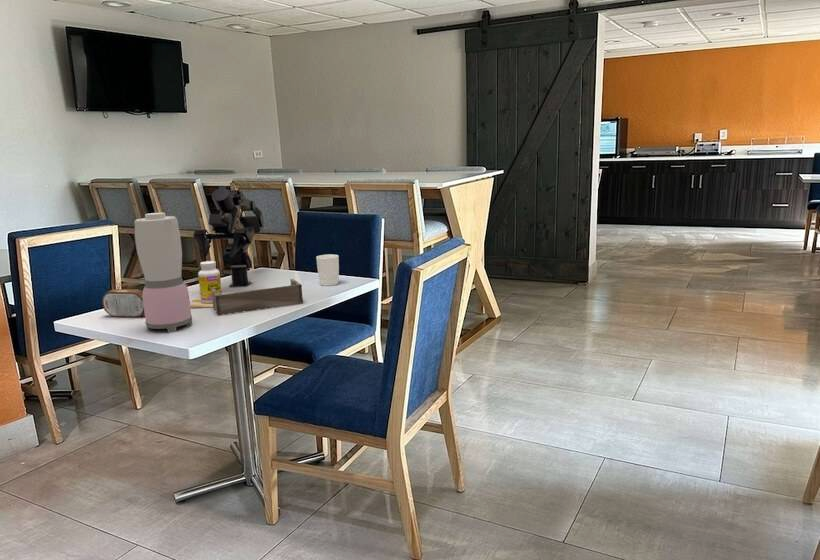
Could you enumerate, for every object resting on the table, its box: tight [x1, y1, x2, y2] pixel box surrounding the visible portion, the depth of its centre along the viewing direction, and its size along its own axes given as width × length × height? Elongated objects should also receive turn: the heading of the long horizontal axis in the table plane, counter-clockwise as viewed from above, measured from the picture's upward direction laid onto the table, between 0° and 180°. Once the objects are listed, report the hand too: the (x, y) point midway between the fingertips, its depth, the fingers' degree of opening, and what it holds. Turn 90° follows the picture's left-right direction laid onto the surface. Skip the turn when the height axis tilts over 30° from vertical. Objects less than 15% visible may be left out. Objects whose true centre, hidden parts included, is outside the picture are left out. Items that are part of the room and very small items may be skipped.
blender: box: [133, 212, 193, 333], centre depth 173 cm, size 16×12×32 cm
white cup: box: [315, 253, 340, 287], centre depth 221 cm, size 8×8×10 cm
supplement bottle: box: [197, 260, 223, 303], centre depth 200 cm, size 7×7×13 cm
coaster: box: [190, 296, 213, 309], centre depth 201 cm, size 14×14×1 cm
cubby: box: [211, 278, 304, 316], centre depth 194 cm, size 10×26×6 cm, turn 114°
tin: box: [101, 288, 145, 318], centre depth 188 cm, size 15×3×8 cm, turn 78°
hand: (217, 257), depth 206 cm, fingers open, 9 cm apart
